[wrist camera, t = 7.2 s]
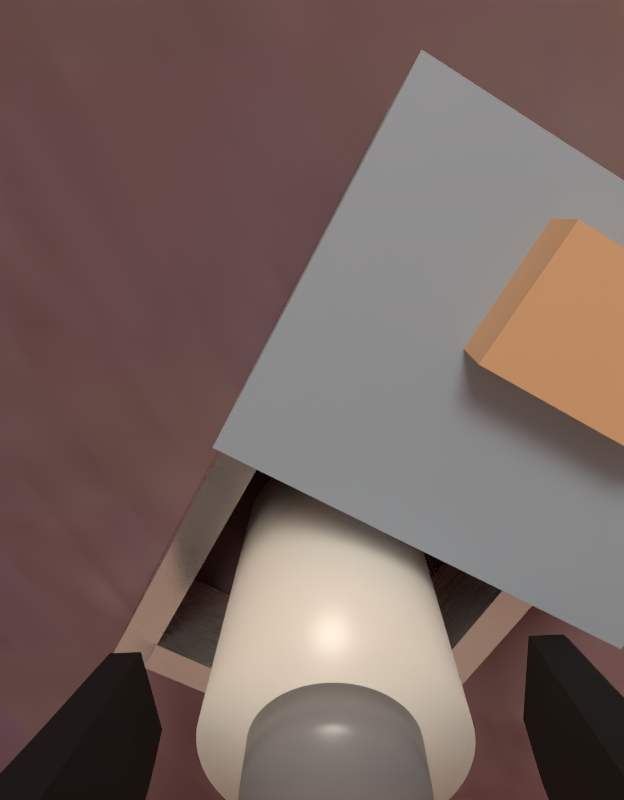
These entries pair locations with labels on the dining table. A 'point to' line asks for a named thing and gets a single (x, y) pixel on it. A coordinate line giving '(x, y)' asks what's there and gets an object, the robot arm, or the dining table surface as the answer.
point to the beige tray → (206, 606)
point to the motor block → (462, 354)
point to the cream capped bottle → (332, 666)
